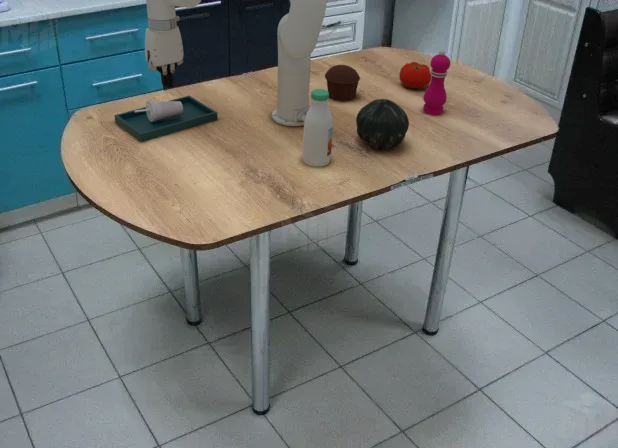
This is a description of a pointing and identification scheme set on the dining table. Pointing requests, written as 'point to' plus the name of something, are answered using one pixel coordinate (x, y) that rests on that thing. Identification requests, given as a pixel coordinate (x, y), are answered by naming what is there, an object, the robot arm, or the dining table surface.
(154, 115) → the smoothie
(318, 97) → the milk bottle
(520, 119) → the dining table surface
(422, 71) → the tomato
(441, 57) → the pepper mill
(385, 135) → the squash
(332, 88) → the muffin
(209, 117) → the tray
